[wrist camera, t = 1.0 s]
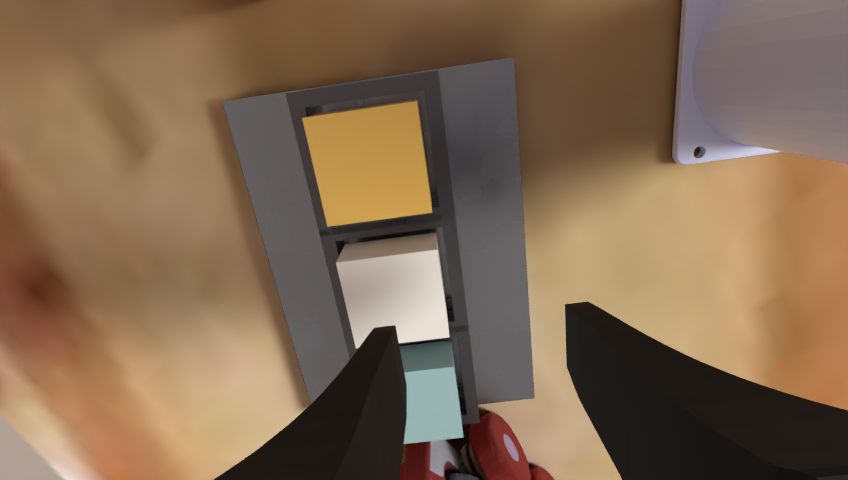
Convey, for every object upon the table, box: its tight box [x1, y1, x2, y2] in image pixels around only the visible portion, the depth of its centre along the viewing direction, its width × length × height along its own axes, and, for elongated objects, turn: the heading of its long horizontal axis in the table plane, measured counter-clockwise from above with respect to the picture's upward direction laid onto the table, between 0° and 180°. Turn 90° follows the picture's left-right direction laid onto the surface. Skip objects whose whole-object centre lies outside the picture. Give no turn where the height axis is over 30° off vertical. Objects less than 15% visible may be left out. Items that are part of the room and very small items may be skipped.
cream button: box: [336, 232, 450, 348], centre depth 18 cm, size 4×4×2 cm
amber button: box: [302, 99, 432, 227], centre depth 16 cm, size 4×4×2 cm
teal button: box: [399, 340, 464, 444], centre depth 20 cm, size 4×4×2 cm
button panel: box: [222, 57, 534, 425], centre depth 20 cm, size 12×17×3 cm
